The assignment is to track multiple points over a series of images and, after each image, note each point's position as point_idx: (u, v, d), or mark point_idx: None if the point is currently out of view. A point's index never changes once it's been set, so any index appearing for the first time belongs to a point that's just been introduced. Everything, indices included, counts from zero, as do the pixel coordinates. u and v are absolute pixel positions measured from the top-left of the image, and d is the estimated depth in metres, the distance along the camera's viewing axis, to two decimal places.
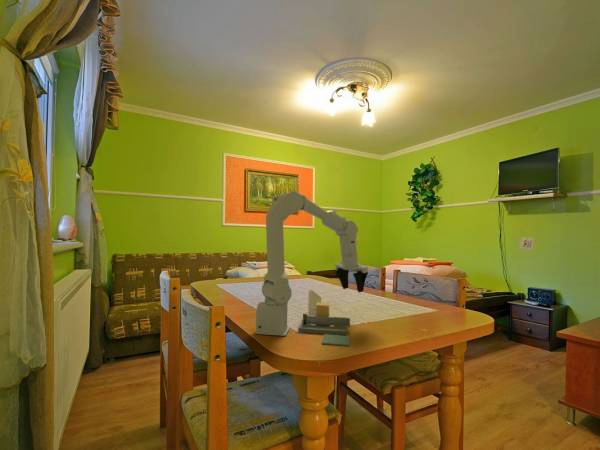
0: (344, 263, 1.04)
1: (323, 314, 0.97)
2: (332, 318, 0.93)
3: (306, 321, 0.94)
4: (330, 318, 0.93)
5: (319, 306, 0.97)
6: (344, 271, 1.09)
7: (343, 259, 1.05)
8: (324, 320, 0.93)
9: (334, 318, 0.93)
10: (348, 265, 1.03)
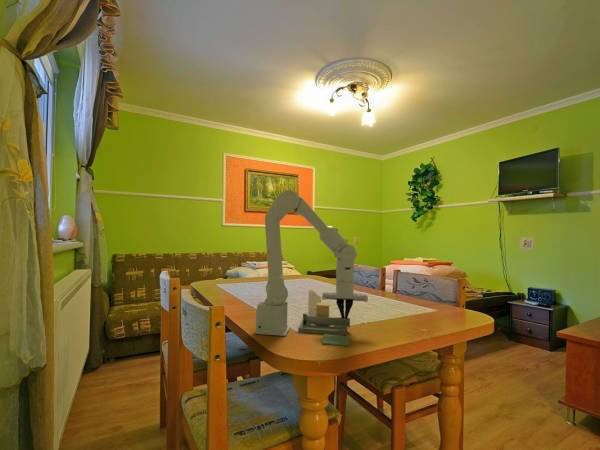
0: (344, 292, 0.92)
1: (323, 314, 0.97)
2: (332, 318, 0.93)
3: (306, 321, 0.94)
4: (330, 318, 0.93)
5: (319, 306, 0.97)
6: None
7: (343, 287, 0.92)
8: (324, 321, 0.93)
9: (334, 318, 0.93)
10: (349, 294, 0.92)
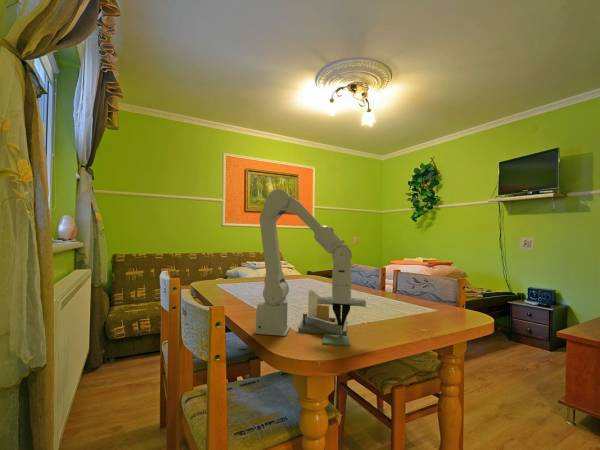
0: (341, 296, 0.85)
1: (323, 314, 0.97)
2: (325, 322, 0.88)
3: (305, 321, 0.94)
4: (323, 322, 0.89)
5: (319, 306, 0.97)
6: None
7: (340, 291, 0.85)
8: (319, 323, 0.90)
9: (327, 323, 0.88)
10: (346, 298, 0.85)
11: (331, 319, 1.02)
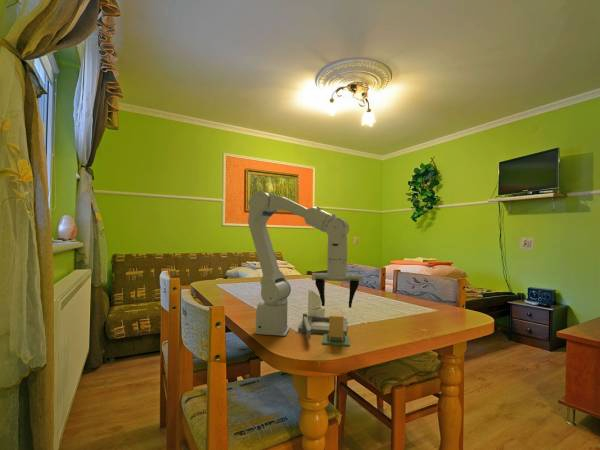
0: (336, 271, 0.82)
1: (337, 327, 0.82)
2: (305, 324, 0.86)
3: (303, 321, 0.94)
4: (305, 324, 0.87)
5: (332, 317, 0.83)
6: (324, 283, 0.85)
7: (335, 266, 0.82)
8: None
9: (306, 325, 0.85)
10: (342, 273, 0.82)
11: None
